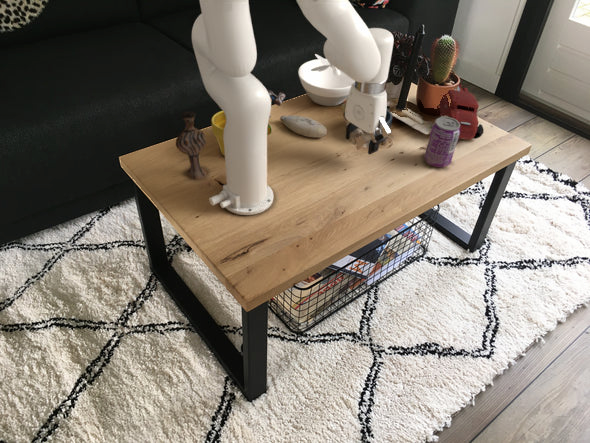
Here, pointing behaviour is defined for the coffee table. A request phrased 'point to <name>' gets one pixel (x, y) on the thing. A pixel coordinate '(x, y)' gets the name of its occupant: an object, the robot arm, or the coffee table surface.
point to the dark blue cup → (388, 122)
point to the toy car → (462, 112)
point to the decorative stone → (304, 126)
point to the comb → (415, 121)
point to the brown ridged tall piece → (192, 145)
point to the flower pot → (219, 128)
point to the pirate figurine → (277, 102)
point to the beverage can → (442, 141)
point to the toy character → (360, 138)
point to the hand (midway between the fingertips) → (361, 144)
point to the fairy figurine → (326, 66)
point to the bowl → (324, 84)
